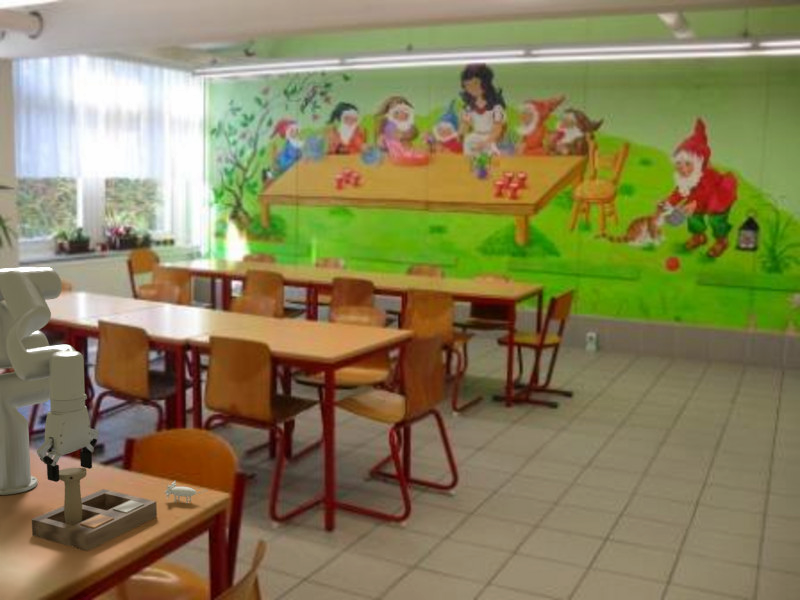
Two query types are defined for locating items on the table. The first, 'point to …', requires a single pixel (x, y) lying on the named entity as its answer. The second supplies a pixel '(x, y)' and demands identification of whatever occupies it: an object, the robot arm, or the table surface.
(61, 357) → the robot arm
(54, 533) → the socket block
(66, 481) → the handle
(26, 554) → the table surface
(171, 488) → the white animal figurine
